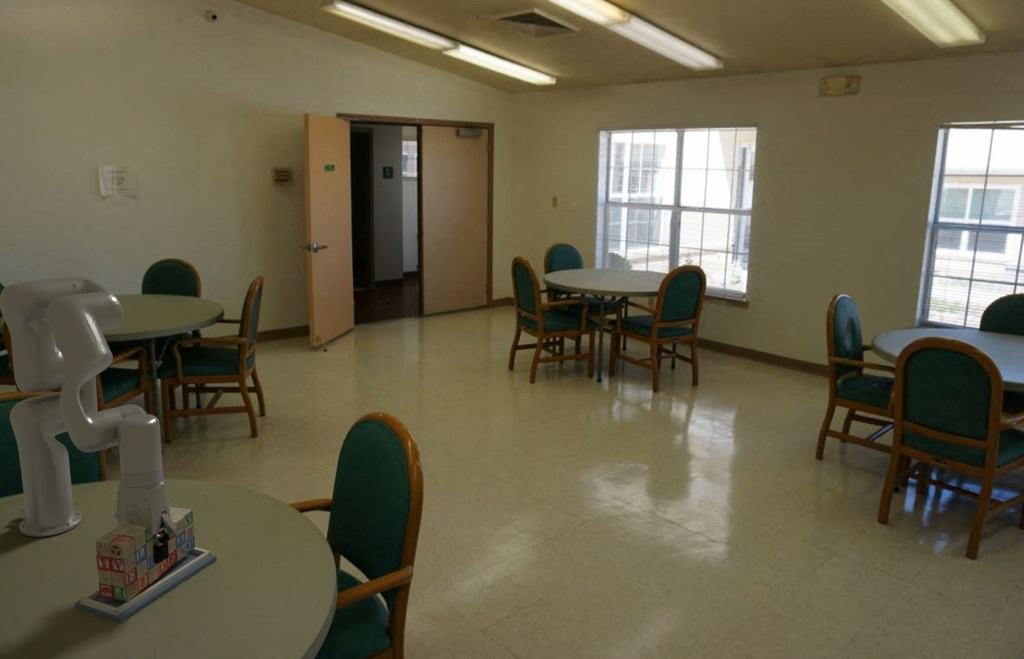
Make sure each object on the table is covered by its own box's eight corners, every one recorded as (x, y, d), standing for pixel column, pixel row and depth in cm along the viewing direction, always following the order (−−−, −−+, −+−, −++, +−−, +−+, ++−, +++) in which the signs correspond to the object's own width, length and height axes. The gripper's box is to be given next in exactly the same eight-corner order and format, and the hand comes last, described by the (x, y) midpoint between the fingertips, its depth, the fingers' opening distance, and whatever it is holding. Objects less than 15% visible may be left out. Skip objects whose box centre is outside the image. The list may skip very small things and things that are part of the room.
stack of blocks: (170, 544, 165) (167, 492, 162) (195, 548, 164) (193, 496, 161) (99, 597, 144) (94, 539, 142) (127, 602, 143) (123, 544, 141)
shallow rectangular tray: (75, 607, 145) (74, 598, 144) (174, 548, 167) (173, 540, 167) (121, 622, 140) (120, 613, 140) (216, 560, 163) (216, 552, 163)
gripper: (93, 474, 148) (100, 555, 152) (160, 491, 143) (166, 575, 146) (125, 461, 155) (131, 539, 159) (190, 476, 149) (194, 557, 153)
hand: (147, 555), depth 153 cm, fingers closed on stack of blocks, 6 cm apart
